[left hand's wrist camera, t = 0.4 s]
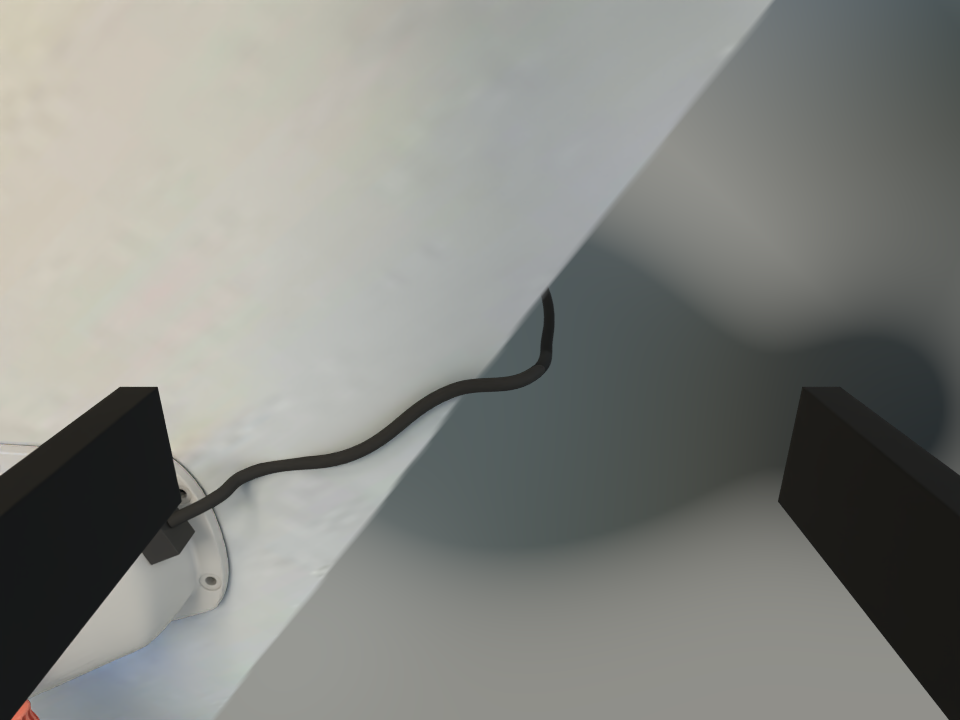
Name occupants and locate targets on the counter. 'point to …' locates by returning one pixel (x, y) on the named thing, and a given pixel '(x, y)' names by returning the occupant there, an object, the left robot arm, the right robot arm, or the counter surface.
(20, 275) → the counter surface
